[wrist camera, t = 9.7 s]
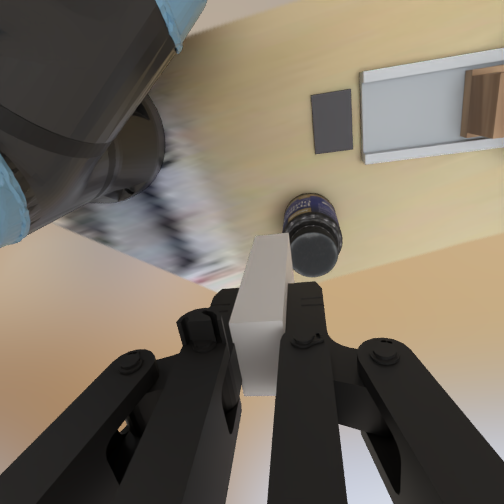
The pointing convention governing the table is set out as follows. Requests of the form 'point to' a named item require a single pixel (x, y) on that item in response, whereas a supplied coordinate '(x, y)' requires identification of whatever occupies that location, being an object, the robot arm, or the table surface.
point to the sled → (483, 103)
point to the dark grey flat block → (332, 121)
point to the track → (419, 108)
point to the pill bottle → (312, 234)
